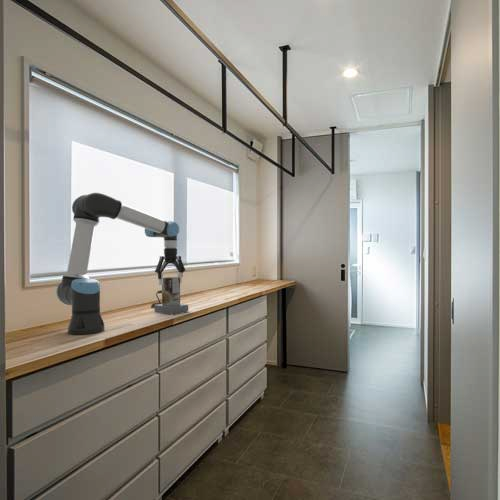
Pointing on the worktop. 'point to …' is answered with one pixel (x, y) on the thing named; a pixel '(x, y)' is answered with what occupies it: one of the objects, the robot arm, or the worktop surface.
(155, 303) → the clothes iron
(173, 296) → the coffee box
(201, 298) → the worktop surface
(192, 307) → the worktop surface
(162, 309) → the plinth
